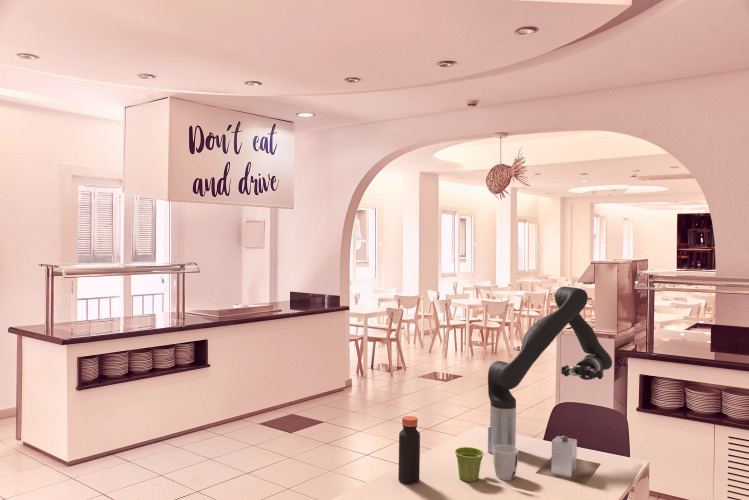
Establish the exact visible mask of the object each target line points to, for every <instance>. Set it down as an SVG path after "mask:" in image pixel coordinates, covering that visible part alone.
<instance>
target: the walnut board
mask: <svg viewBox="0 0 749 500" xmlns="http://www.w3.org/2000/svg"><path fill="white" fill-rule="evenodd" d="M600 466H601V463H599V462H594V461H589V460H585V459H584V460H583V459H581V458H580V459H579V458H577V465H576V474H575V475H574V476H573V477H572V479H570V478H565V477H561V476H556V475H552V474H551V468H552V456H551V457H550V458H549V459H548V460H547V461H545V463H544V464H542V465H541V467H540V468H538V470H536V471H535V474H538V475H542V476H547V477H551V478H555V479H560V480H565V481H568V482H572V483H578V484H582V485H586V484H587V483H588V482H589V481H590V479H591V478H592V477H593V476H594V474H595V472H596V471H597V470H598V468H599V467H600Z"/></svg>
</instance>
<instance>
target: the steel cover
mask: <svg viewBox="0 0 749 500" xmlns="http://www.w3.org/2000/svg"><path fill="white" fill-rule="evenodd" d="M577 445H578V439H577V438H570V437H568V436H567V435H561V436H560V435H556V437H554V438H553V439H552V440H551V457H552V468H551V474H552V475H556V476H561V477H565V478H570V479H572V477H573V476H574V475H575V474H576V465H577V459H578V458H577V457H578V455H577V454H578V452H577V451H578V446H577Z"/></svg>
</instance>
